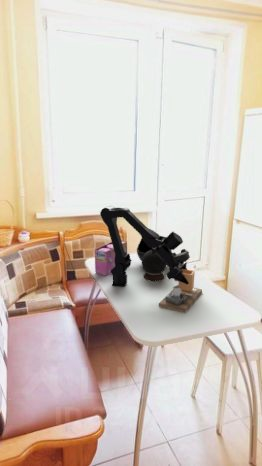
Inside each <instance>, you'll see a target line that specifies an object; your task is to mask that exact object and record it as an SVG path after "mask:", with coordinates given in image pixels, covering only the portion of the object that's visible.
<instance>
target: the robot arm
mask: <svg viewBox="0 0 262 466" xmlns="http://www.w3.org/2000/svg"><path fill="white" fill-rule="evenodd" d="M99 214H100V218H101V220H102V222H103V223H104V224H105V226H106V227H107V230H108V234H109V237H110V240H111V242H112V245H113V248H114V252H115V267H114V268H113V269H112V270H111V273H110V274H111V275H112V284H111V286H112V287H126V285H127V284H128V274H127V270H128V269H129V268H130V266H131V265H132V261H133V260H132V259H131V256H130V253H127V254H126V253H125V251H124V248H123V245H122V239H121V234H120V231H119V228H118V224H117V223H118V218H123V219H124V220H125V221H126V222H127V223H128V224H129V225H130V226H131V227H132V228H133V229H134V230H135V231H136V232H137V233H138V235H140V237H141V238H142V239H143V241H144V242H145V244H146V245H147V246H148V247H155V246H156V245H158V246H157V247H156V248H152V255H153V254H154V253H157V254H158V256H159V257H160V258H161V259H162V260H163V261H164V262H163V264H166V267H168V270H169V271H168V272H166V278H167V279H168V280H169V281H170V280H174V279H175V280H174V281H178V282H179V281H180V282H183V283H185V284H189V282H188V281H187V279H186V278H185V276H184V275H183V269H186V270H188V268H187V265H188V264H187V263H188V262H187V261H189V259H190V258H191V257H190V254H189V253H190V251H188V250H187V249H185V248H182V249H181V250H180V252H179V253H176V252H173V251H174V250H175V249H177V248H178V247H179V246H180V245H182V244H183V243H184V241H183V238H182V237H181V235H179V234H178V233H176V232H175V231H171V232H170V233H169V235H167V236H163V235H160V234H159V233H157V231H155V230H153V229H151V228H148V227H147V226H146V224H144V223H143V222H142V221H141V220H140V219H139V218H138V217H137V216H136V215H135V214H134V213H133V212H132V211H131V210H130V208H128V207H115V206H112V205H109V206H106V207H103V208H102V209H101V210H100V211H99ZM163 242H164V244H163V245H161V244H162V243H163ZM171 249H172V252H171V251H170V250H171ZM181 269H182V270H181Z"/></svg>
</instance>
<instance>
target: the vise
mask: <svg viewBox="0 0 262 466" xmlns="http://www.w3.org/2000/svg"><path fill="white" fill-rule="evenodd" d="M172 290H173V293H171V294H169V293H168V294H169V295H168V294H167V295H168V296H167V295H166V296H165V297H166V302H168V303H171V304H173V305H176V306H180V305H182V304H183V303H185V302H187V296H186V295H185V293H183V294H180V287H179V286H177V285H175V286H173V288H172Z"/></svg>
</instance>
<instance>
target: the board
mask: <svg viewBox="0 0 262 466" xmlns="http://www.w3.org/2000/svg"><path fill="white" fill-rule="evenodd" d="M176 286H179V284H177V285H176ZM202 292H203V289H202V288H201V289H200V288H198V287H197V288H196V287H193V289H192V291H184V290H180V294H183V293H185V295H186V296H187V302H185V303H183V304H182V305H180V306H176V305H173V304H171V303H168V302H166V296H168V295H169V294H171V293H173V289H172V290H171V291H170V292H169V293H168V294H166V296H165V297H163V299H162V300H160V301H159V302H158V307H160V308H164V309H169V310H170V311H171V310H173V311H177V312H180V313H184V314H185V313H187V311H188V310H189V309H190V308H191V306H192V305H193V304H194V303H195V301H196V300H197V299H198V298H199V297H200V295H201V294H202Z"/></svg>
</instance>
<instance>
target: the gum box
mask: <svg viewBox="0 0 262 466" xmlns="http://www.w3.org/2000/svg"><path fill="white" fill-rule="evenodd" d="M121 241H122V240H121ZM122 245H123V248H124V251H125V253H126V254H128V241H127V240H126V241H122ZM114 267H115V252H114V248H113V245H112V241H111V242H108V243H107V244H105V245H103V246H100V247H98V248H96V249H94V270H95V271H94V272H96V273H95V274H97V273H101V274H105V275H104V276H106V275H107V276H108V274H109V275H110V274H112V273H111V270H112V269H113V268H114ZM101 274H100V275H101Z"/></svg>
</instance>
